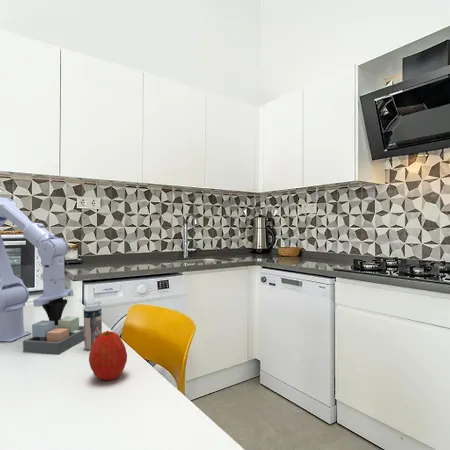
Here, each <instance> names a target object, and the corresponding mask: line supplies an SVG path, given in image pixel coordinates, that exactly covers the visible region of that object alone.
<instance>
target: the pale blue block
mask: <svg viewBox="0 0 450 450" xmlns="http://www.w3.org/2000/svg"><path fill="white" fill-rule="evenodd" d="M31 327H32V328H31V331H32V332H31V337H47V332H49V331H51V330H53V329H55V322H54V321H49V320H39V321H38V322H37V321H36V322H35V323H32V324H31Z"/></svg>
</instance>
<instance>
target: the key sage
mask: <svg viewBox="0 0 450 450" xmlns="http://www.w3.org/2000/svg"><path fill="white" fill-rule="evenodd" d="M79 326H80V316H65V317H63V318H62V317H61V319H60V320H58V328H64V329H69V333H71V332H73V331H75V330H77V329H79Z"/></svg>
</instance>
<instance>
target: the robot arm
mask: <svg viewBox="0 0 450 450" xmlns="http://www.w3.org/2000/svg"><path fill="white" fill-rule="evenodd" d="M17 205H18V204H17V202H15V201H14V200H13V199H12V198H11V197H2V196H1V197H0V227H1V226H3V225H4V224H5V223H7V221H9V222H11V223H12V224H13V225H14V226H15V227H16V226H17V228H18V229H20V230H22V231H23V232H22V236H23V237H24V238H25V239H26V240H27V241H28V242H29V243H30V244H31V245H32V246H34V247H35V248H36V249H37V255H38V256H39V258H40V263H41V265H42V286H43V288H42V289H43V293H42V295H40V296H38V297H36V298H34V299H33V307H38V308H39V307H42V308H43V310H44V311H45V313H46V315H47V319H48V321H54V322H55V326H57V325H58V320H60V319H62V316H63V312H64V310H65V307H66V306H67V304H68V299H64V298H68V297H72V296H74V294H73V293H74V292H73V291H74V289H69V288H67V289H66V285H65V284H66V283H65V281H66V280H65V279H66V277H65V276H66V275H65V256H66V255H68V252H69V244H68V242H67V241H66V239H65V238H63V237H57V236H56V235H55V234H54V233H52V232H51V231H49V230H47V228H45V225H44V224H43V223H42V222H41V223H39V222H33V221H32V220H31V219H30V218H29V217H27V215H25V213H24V212H22V211H21V210H20V208H18V206H17ZM2 237H3V236H2V234H1V233H0V342H5V343H6V342H7V343H8V342H9V343H10V342H14V341H16V340H18V339H21V338H23V337H26V336H28V335H30V334H32V332H31V331H25V327H24V307H26V303H27V302H28V301H29V298H30V297H29V296H30V292H29V289H28V288H27V286H26V285H25V284H24V281H23V279H22V278H20V277H18V276H17V275H15V274H14V270H13V268H12V265H11V261H10V257H9V255H8V253H7V250H6V246H5V244H4V240H3V238H2Z"/></svg>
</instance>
